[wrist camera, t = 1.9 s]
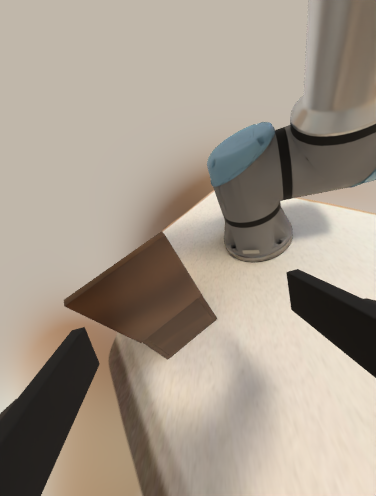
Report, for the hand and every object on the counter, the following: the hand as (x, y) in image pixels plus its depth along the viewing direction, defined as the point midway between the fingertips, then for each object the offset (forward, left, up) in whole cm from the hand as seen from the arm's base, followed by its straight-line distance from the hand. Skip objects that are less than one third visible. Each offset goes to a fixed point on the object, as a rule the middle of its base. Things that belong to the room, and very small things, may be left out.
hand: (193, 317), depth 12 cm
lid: (-6, -10, -7) cm, 14 cm away
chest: (-11, -16, -23) cm, 30 cm away
